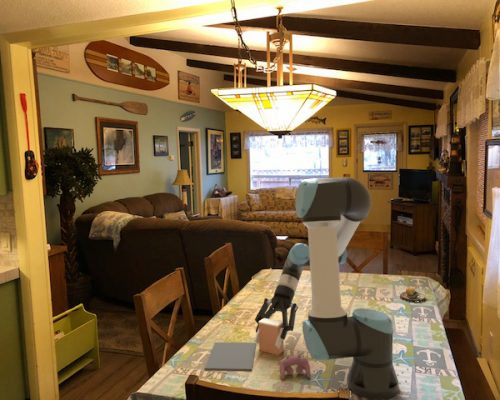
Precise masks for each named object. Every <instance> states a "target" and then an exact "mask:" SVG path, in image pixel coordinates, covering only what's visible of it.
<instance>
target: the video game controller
mask: <svg viewBox="0 0 500 400" xmlns="http://www.w3.org/2000/svg"><path fill="white" fill-rule="evenodd" d="M292 366H296V368H295V372H296V374H297V375H301V374H303V372H305V374H306V377H307V378H308V379H310V378H311V373H312V372H311V366H310V363H309V360H308V359H307V358H306V357H305V356H299V355H290V356H285V357H283V358H282V359H281V360H280V361H279V373H280V374H279V375H280V377H281V380H285V377H286V374H287V375H293V374H294V368H293V367H292Z"/></svg>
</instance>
